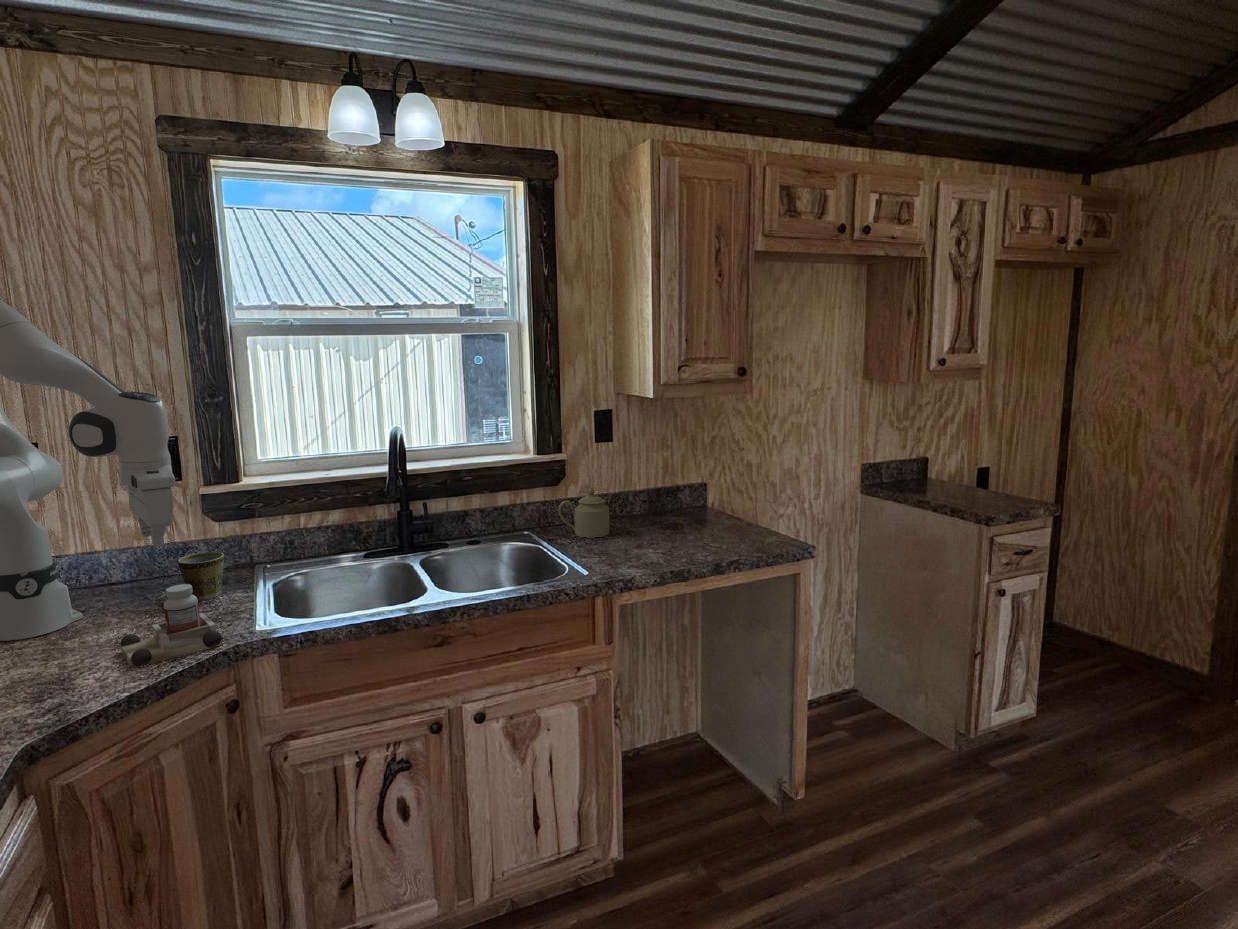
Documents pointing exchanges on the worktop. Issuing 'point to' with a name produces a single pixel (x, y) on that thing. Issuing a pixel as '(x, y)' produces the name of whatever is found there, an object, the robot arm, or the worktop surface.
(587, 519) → the sugar bowl
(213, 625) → the beige toy truck
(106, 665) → the worktop surface
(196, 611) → the pill bottle
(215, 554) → the ceramic cup
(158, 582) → the worktop surface
